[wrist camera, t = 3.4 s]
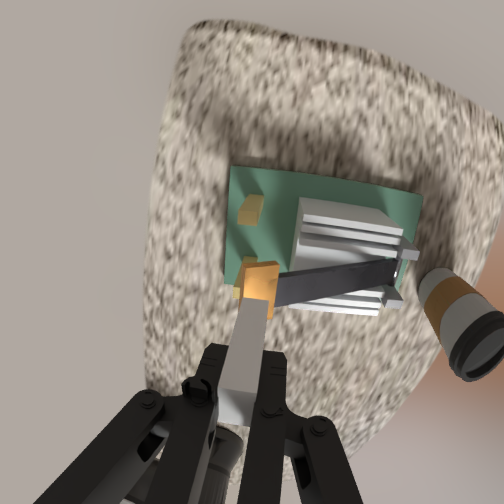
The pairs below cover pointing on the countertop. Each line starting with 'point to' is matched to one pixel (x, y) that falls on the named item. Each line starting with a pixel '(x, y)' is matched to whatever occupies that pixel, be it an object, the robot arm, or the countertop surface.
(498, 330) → the coffee cup
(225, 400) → the robot arm
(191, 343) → the countertop surface
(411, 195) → the heatsink base
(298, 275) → the strap
